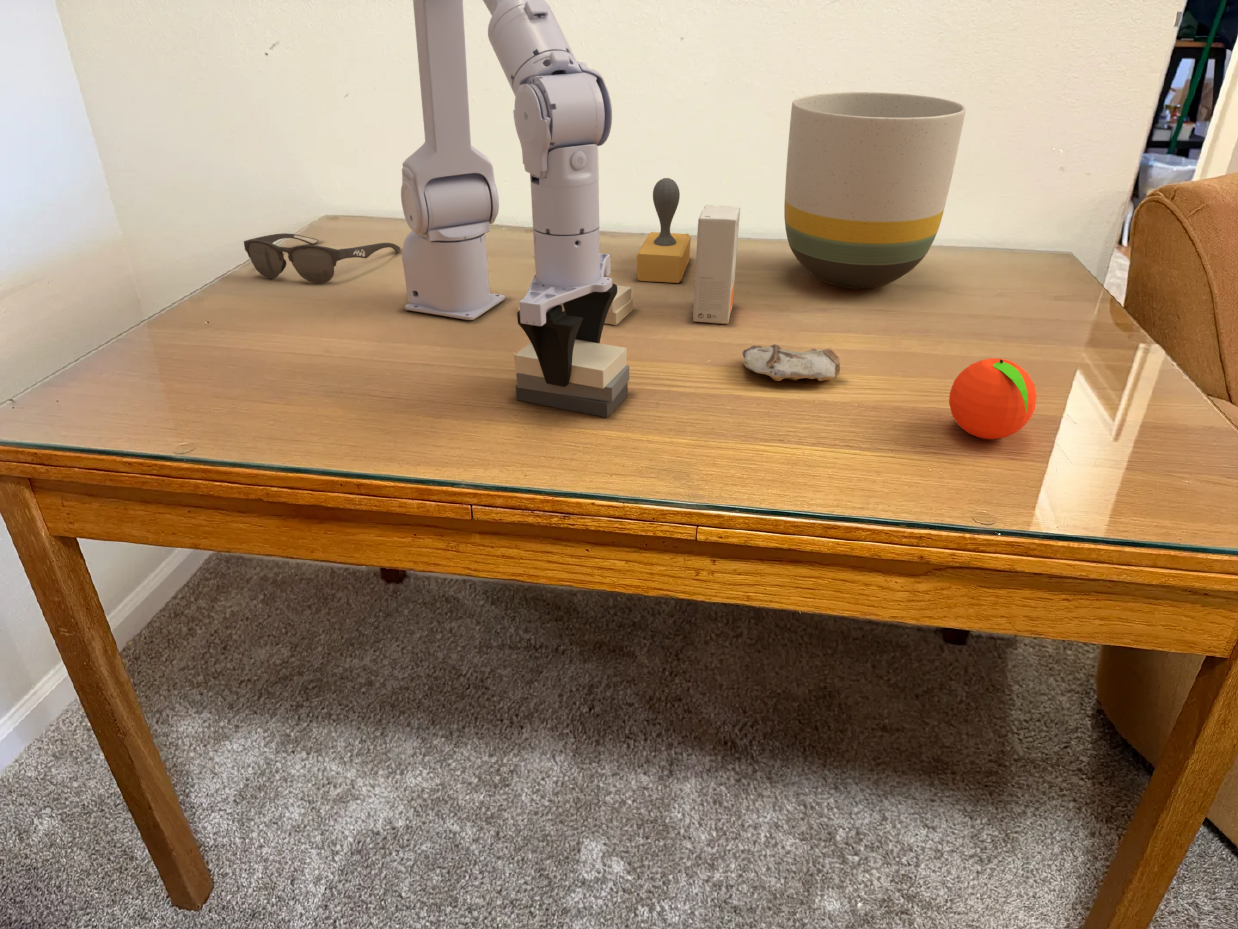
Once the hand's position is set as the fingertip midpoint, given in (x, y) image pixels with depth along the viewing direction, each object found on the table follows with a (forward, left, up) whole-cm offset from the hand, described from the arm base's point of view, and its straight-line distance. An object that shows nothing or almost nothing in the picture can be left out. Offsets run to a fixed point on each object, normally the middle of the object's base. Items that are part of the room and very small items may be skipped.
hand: (571, 370), depth 80 cm
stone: (+18, +13, -3) cm, 22 cm away
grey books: (0, 0, -3) cm, 3 cm away
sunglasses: (-49, +24, -3) cm, 55 cm away
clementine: (+37, +7, -3) cm, 38 cm away
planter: (+19, +44, -3) cm, 48 cm away
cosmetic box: (+6, +26, -3) cm, 27 cm away
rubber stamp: (-5, +39, -3) cm, 39 cm away
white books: (-8, +21, -3) cm, 23 cm away
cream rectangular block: (0, 0, 0) cm, 0 cm away
